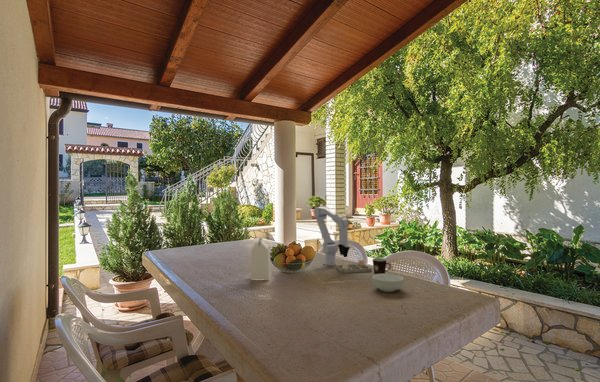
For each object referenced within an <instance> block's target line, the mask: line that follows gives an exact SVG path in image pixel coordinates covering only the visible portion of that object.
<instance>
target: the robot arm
mask: <svg viewBox="0 0 600 382" xmlns="http://www.w3.org/2000/svg"><path fill="white" fill-rule="evenodd" d="M313 215H314V217H315V220H316V224H317V225H318V229H319V232H320V234H321V236H322V239H323V243H322V244H321V246H322V251H323V253H324V254H325V255H324V264H326V265H325V266H336V265H335V264H336V254H337V252H338V250H339V253H340V254H339V255H341V256H343V258H347V257H348V254H349V251H350V249H351V246H349V242H348V241H349V239H348V237H349V236H348V232H349V231H348V227H349V226H350V219H348V217H347V218H346V217H344V216H341V215H340V214H339V213H334V212H333V211H331V209H330V208H329V207H328V206H315V207H314V211H313ZM327 216H328V217H330V218H331V220H332V221H333V222H334V223H335V224H336V225H337V228H338V232H339V233H338V240H339V241H338V242H337V243H336V242H335V240H333V239H332V238H331V234H330V232H329V230H328V227H327V224H326V222H325V219H326V218H327Z"/></svg>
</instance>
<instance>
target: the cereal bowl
mask: <svg viewBox="0 0 600 382" xmlns="http://www.w3.org/2000/svg"><path fill="white" fill-rule="evenodd" d="M404 280H405V279H404V277H403V276H402V275H399V274H393V273H385V274H373V275H372V277H371V281H372V284H373V286H374V287H376V288H377V289H379V290H380V291H382V292H385V293H386V292H388V293H393V292H395V291H397V290H400V289H401V288H403V286H404Z"/></svg>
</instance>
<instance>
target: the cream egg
mask: <svg viewBox="0 0 600 382" xmlns="http://www.w3.org/2000/svg"><path fill="white" fill-rule="evenodd" d="M342 265H343V266H342V269H343V270H347V269H349V266H348V265H349V263H348V262H345V261H344V262H343V263H342Z"/></svg>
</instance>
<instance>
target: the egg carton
mask: <svg viewBox="0 0 600 382" xmlns="http://www.w3.org/2000/svg"><path fill="white" fill-rule="evenodd" d="M335 266H336V270H338V271H339V272H340V273H341V274H353V273H369V272H370V273H371V272H372V268H371V267H369V266H368V265H367V264H365V263H364V266H358V263H355V264H354V263H353V264H348V266H349V269H347V270H343V269H342V266H343V264H336V265H335Z"/></svg>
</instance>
